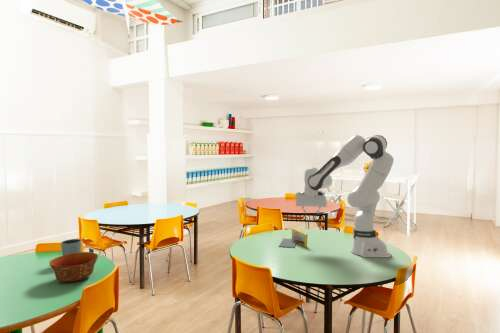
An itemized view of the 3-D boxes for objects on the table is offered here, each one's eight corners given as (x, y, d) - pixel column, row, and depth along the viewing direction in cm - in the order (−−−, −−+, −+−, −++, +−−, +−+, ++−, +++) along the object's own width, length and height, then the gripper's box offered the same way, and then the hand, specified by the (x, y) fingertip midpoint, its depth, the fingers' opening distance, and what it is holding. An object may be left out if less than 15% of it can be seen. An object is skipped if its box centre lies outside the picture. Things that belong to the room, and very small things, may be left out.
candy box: (291, 240, 226) (291, 228, 225) (293, 239, 227) (294, 228, 226) (304, 247, 211) (305, 234, 211) (307, 246, 212) (308, 234, 212)
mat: (297, 239, 229) (297, 239, 229) (294, 247, 210) (294, 247, 210) (283, 239, 231) (283, 238, 231) (279, 246, 212) (279, 246, 212)
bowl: (71, 290, 146) (71, 268, 145) (39, 283, 154) (38, 262, 153) (108, 274, 165) (107, 254, 165) (77, 268, 173) (76, 250, 173)
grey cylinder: (85, 261, 185) (85, 240, 185) (68, 266, 177) (67, 244, 176) (75, 258, 190) (74, 238, 190) (57, 263, 182) (56, 242, 181)
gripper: (294, 192, 215) (295, 213, 216) (326, 193, 210) (326, 214, 211) (295, 191, 221) (295, 211, 222) (326, 192, 216) (326, 212, 217)
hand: (311, 213), depth 216 cm, fingers open, 7 cm apart
